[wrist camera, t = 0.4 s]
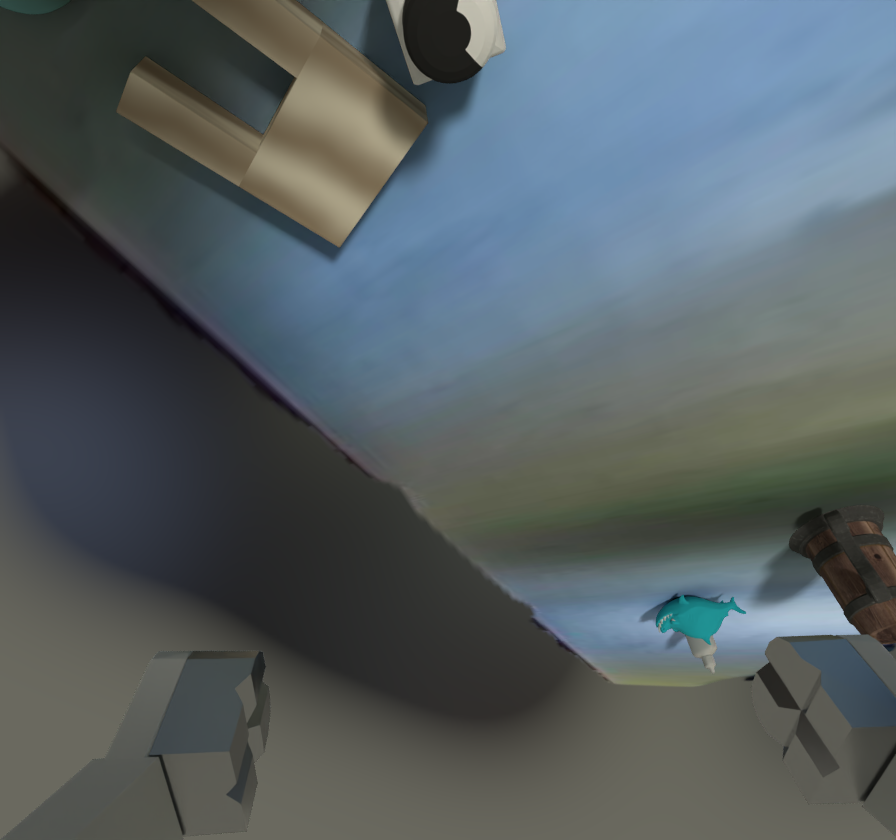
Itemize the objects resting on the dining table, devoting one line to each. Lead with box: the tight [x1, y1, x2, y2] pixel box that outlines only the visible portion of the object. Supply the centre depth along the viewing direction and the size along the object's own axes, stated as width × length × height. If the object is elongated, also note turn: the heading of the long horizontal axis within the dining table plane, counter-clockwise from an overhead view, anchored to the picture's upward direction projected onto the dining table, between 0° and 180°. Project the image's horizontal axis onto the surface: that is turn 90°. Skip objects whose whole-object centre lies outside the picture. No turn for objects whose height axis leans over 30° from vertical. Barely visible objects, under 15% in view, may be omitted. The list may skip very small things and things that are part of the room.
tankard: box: [789, 505, 896, 644], centre depth 101 cm, size 24×17×20 cm
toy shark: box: [656, 595, 746, 645], centre depth 122 cm, size 10×18×11 cm, turn 113°
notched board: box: [116, 0, 428, 248], centre depth 48 cm, size 14×20×4 cm
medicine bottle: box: [386, 0, 506, 85], centre depth 41 cm, size 7×7×12 cm
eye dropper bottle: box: [685, 635, 717, 673], centre depth 131 cm, size 4×6×12 cm
